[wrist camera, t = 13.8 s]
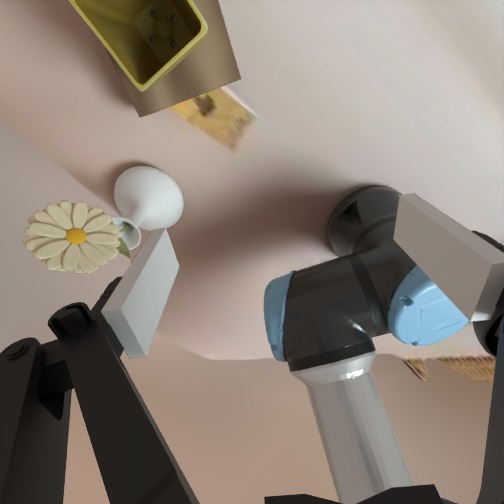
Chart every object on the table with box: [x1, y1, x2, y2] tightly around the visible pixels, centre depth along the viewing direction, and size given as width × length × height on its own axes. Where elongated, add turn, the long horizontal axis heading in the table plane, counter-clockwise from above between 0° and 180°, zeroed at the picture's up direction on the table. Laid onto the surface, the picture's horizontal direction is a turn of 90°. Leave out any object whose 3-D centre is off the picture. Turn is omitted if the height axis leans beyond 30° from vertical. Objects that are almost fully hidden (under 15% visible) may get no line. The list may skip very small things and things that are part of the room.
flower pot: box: [68, 0, 208, 92], centre depth 27 cm, size 9×9×9 cm
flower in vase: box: [23, 166, 184, 273], centre depth 36 cm, size 13×11×25 cm
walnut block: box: [105, 0, 241, 117], centre depth 34 cm, size 14×14×6 cm
